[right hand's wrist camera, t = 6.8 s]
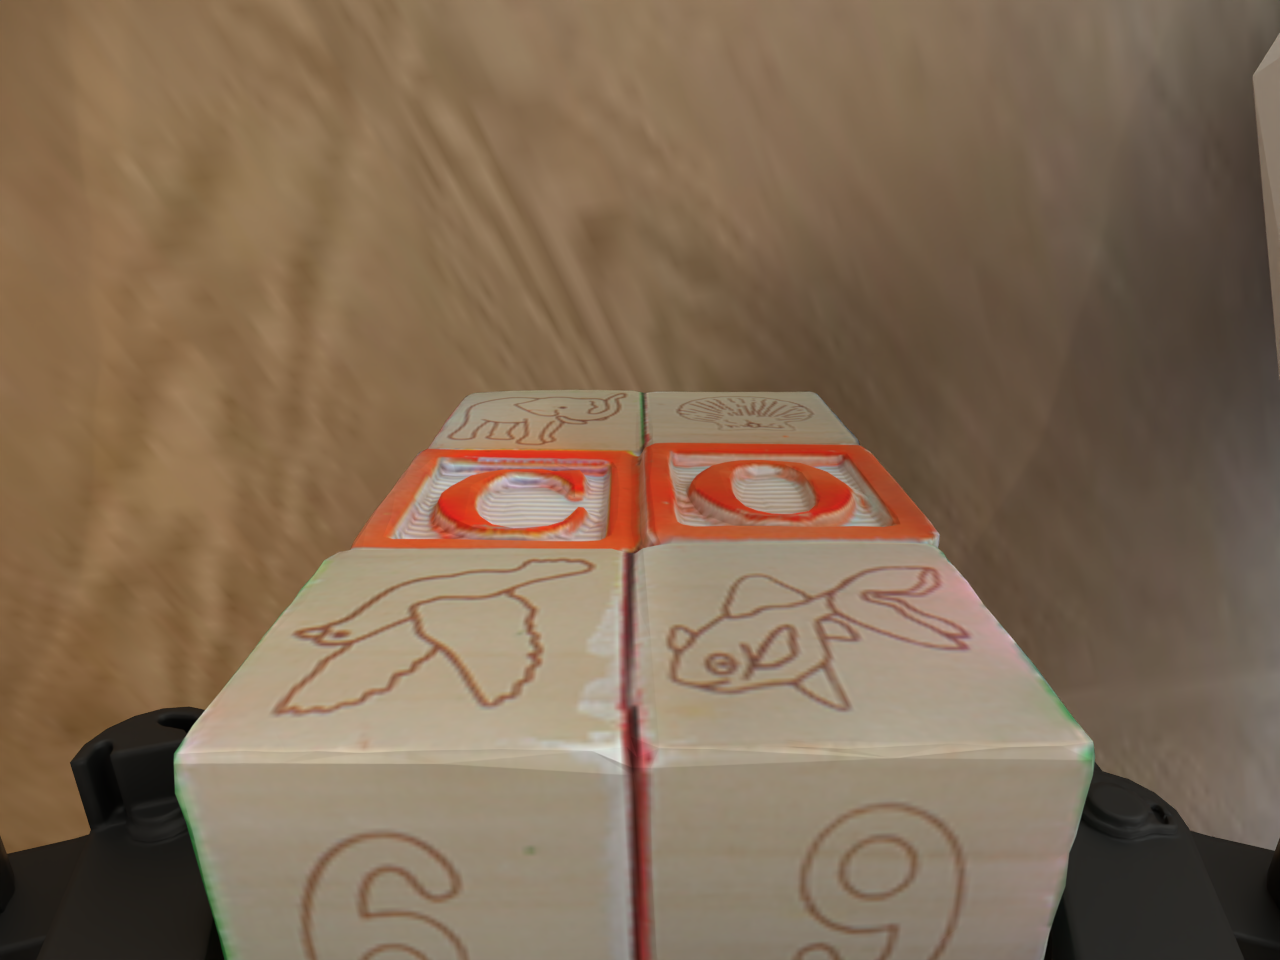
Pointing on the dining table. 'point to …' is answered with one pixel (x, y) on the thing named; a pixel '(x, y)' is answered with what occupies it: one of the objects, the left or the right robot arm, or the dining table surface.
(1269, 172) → the sphere
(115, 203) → the dining table surface
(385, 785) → the stack of blocks
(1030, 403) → the dining table surface
